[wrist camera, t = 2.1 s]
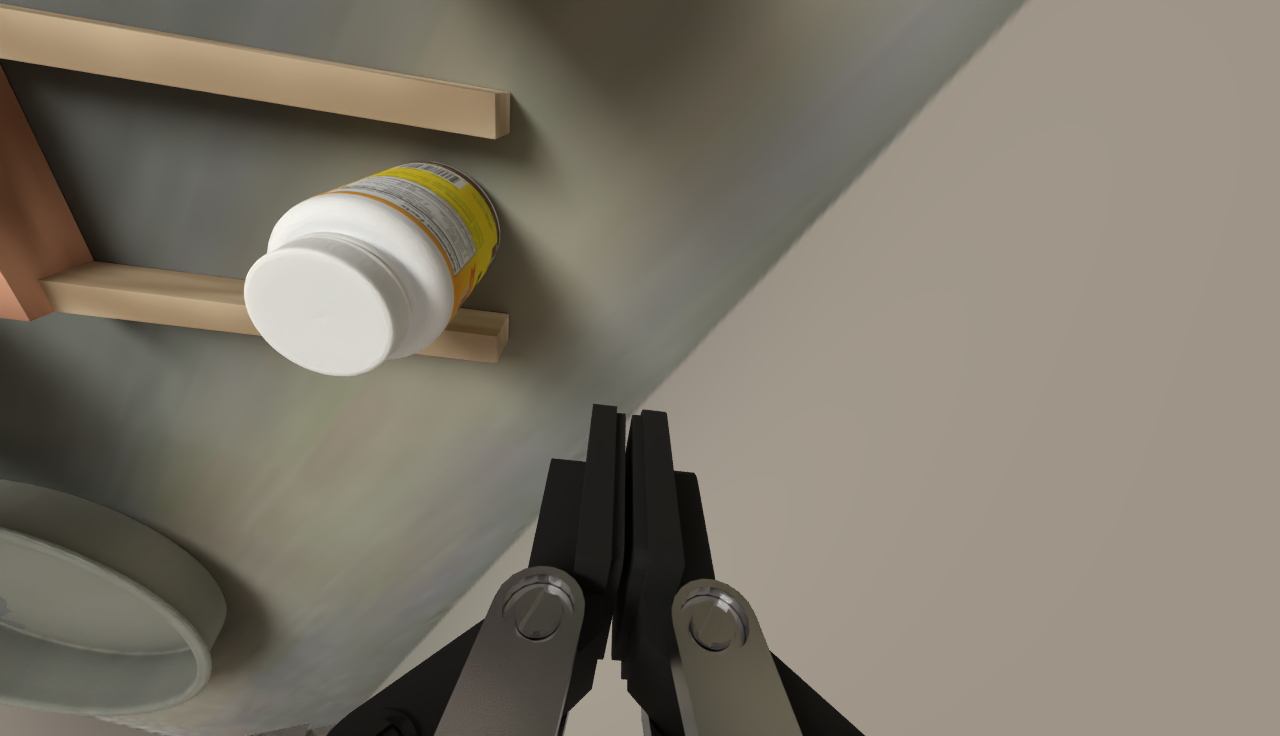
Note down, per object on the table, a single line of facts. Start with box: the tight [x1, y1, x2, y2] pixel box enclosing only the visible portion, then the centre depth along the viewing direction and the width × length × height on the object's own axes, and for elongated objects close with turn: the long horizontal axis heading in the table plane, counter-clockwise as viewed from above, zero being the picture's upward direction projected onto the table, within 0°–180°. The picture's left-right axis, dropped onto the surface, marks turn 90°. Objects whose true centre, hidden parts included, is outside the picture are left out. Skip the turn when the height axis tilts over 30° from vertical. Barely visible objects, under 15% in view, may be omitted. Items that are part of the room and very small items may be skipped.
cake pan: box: [0, 479, 227, 716], centre depth 33 cm, size 25×25×4 cm
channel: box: [0, 3, 510, 363], centre depth 19 cm, size 12×21×4 cm, turn 81°
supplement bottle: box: [244, 161, 500, 376], centre depth 17 cm, size 6×6×10 cm
